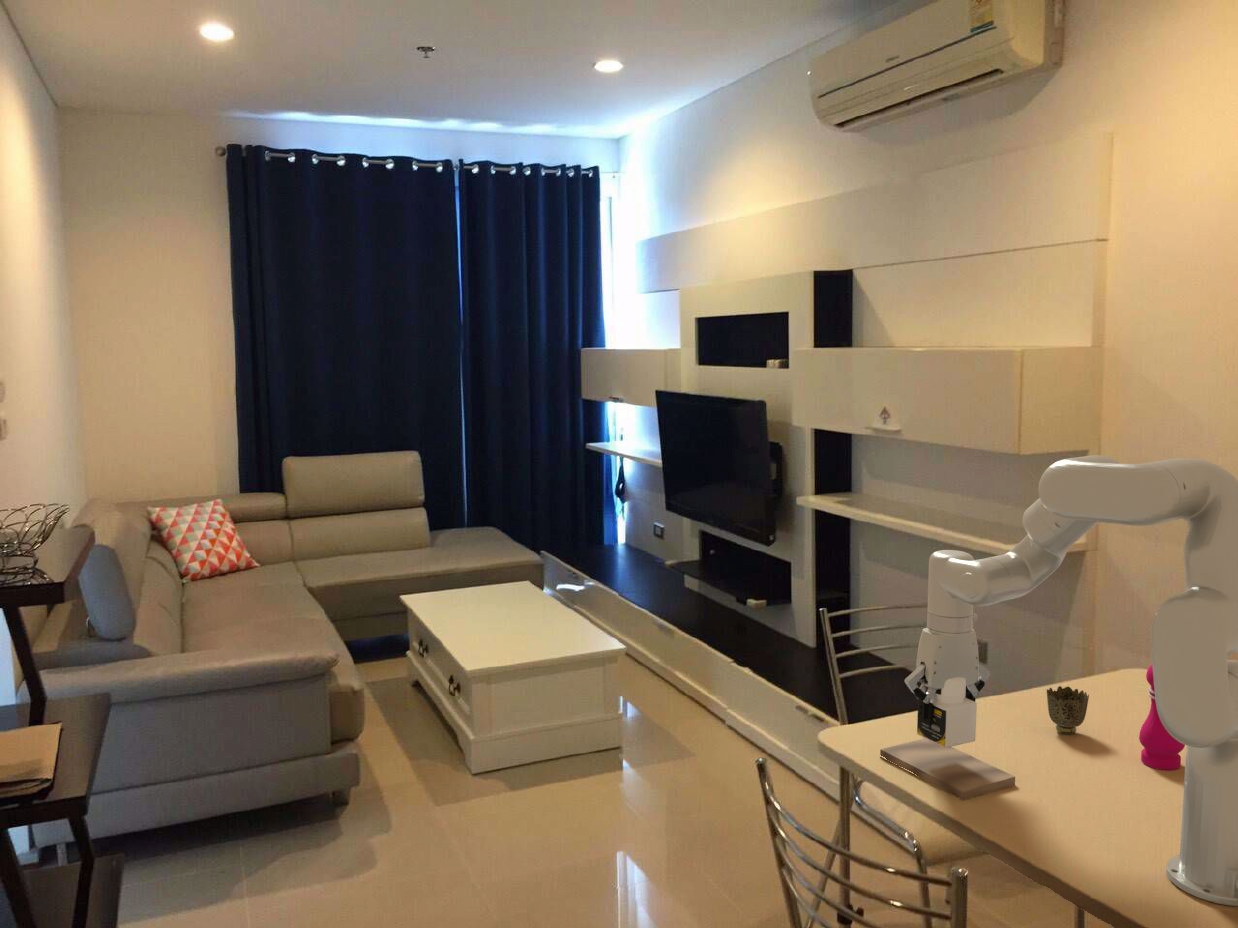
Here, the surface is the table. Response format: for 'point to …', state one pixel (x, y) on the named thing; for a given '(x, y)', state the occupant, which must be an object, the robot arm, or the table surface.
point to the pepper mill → (1158, 737)
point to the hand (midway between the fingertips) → (946, 719)
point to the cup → (1067, 708)
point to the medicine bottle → (950, 716)
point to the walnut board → (948, 768)
